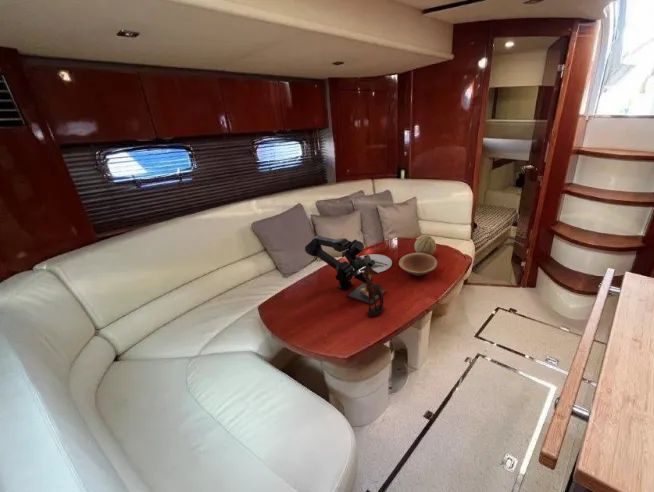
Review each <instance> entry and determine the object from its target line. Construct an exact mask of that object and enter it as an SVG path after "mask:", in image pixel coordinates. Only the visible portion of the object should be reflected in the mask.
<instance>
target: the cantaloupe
mask: <svg viewBox="0 0 654 492" xmlns="http://www.w3.org/2000/svg"><path fill="white" fill-rule="evenodd" d="M413 248H414V251H415V253H425V254H429V255H431V256H433V255H434V254H435V252H436V250H437V243H436V241H435V239H434V238H433V237H432V236H431V235H422V236H419V237H418V238H417V239H416V240H415V242H414V247H413Z"/></svg>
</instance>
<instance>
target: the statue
mask: <svg viewBox="0 0 654 492" xmlns="http://www.w3.org/2000/svg"><path fill="white" fill-rule="evenodd" d="M368 274H371V275H373V274H375V275H377V274H378V273H377V272H376V271H375V270H373V269H372V268H370V267H369V265H368V264H367V263H366V262H365V271H364V274H363V276H364V277H365V280H366V283H367V286H366V288H367V291H368V295H369V304H368V311H367V314H368V317H370V318H373V317H374V318H375V317H377V316H379V315H381V314H382V313H383V310H384V296H383V295H382V291H383V290H384V288H383V286H382V285H381V284H376V283H374V281H371V280H370V279H369V277H368ZM375 295H379V297H380V298H379V304H377V303H376V301H375ZM371 296H372V299H373V301H374V303H373V304H374V306H372V307H371V304H370V299H371Z"/></svg>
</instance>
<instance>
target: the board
mask: <svg viewBox="0 0 654 492" xmlns="http://www.w3.org/2000/svg"><path fill="white" fill-rule="evenodd" d="M362 288H365V283H361V284H360V285H359V286H358V287H356V288H354V290H352V291H351V292H350V293H348V294H347V297H348V298H350V299H353V300H356V301H359V302H363V303H365V304H368V305H369V299H368V298H367V297H365V296H364V295H362V294H361V293H360V289H362ZM385 293H386V290H385V289H383V291H382V296H383V295H384V294H385ZM379 299H380V297H379V295H375V302H376V301H378V300H379ZM373 304H374V301H373V299H372V298H371V299H370V306H372V305H373Z"/></svg>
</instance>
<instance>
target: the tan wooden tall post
mask: <svg viewBox="0 0 654 492" xmlns="http://www.w3.org/2000/svg"><path fill="white" fill-rule="evenodd" d="M371 276H372V274H368V277H369V279H370V280H371ZM364 284H365V288H362V289H360V293H361V294H362V295H364V296H365V297H367V298H368V299H369V295H368V291H367V288H366V286H367V284H366V283H364ZM371 298H372V296H371Z"/></svg>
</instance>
